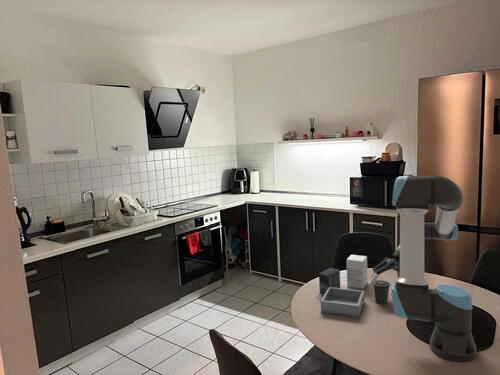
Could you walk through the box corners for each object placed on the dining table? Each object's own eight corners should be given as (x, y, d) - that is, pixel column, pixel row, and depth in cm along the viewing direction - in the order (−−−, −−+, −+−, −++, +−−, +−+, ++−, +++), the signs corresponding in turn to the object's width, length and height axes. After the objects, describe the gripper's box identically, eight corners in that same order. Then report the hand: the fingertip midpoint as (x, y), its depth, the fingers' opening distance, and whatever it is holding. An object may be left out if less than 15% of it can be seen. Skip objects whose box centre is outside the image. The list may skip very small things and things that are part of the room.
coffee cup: (369, 302, 182) (369, 282, 180) (377, 296, 188) (376, 277, 186) (386, 307, 176) (385, 286, 175) (393, 301, 182) (393, 281, 181)
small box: (330, 286, 204) (329, 267, 203) (341, 289, 199) (340, 269, 198) (318, 292, 197) (318, 272, 195) (329, 295, 192) (329, 275, 191)
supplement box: (351, 280, 210) (350, 254, 208) (367, 282, 205) (367, 256, 203) (346, 286, 202) (345, 259, 200) (363, 289, 198) (363, 261, 196)
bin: (359, 317, 167) (358, 306, 167) (320, 312, 174) (320, 301, 174) (364, 301, 183) (364, 291, 182) (329, 297, 190) (328, 286, 189)
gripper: (428, 265, 176) (405, 303, 172) (388, 251, 198) (366, 285, 194) (420, 256, 173) (396, 295, 169) (380, 243, 195) (358, 277, 191)
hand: (380, 289), depth 181 cm, fingers open, 13 cm apart
